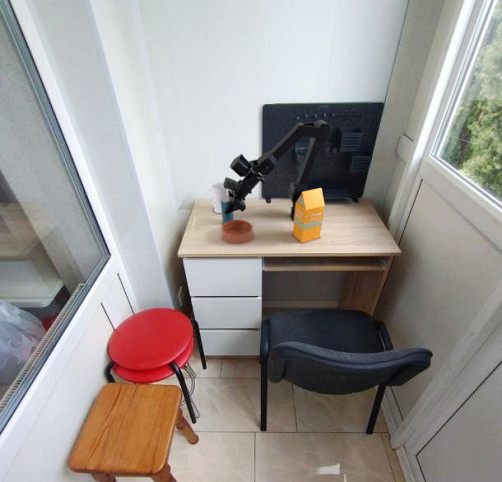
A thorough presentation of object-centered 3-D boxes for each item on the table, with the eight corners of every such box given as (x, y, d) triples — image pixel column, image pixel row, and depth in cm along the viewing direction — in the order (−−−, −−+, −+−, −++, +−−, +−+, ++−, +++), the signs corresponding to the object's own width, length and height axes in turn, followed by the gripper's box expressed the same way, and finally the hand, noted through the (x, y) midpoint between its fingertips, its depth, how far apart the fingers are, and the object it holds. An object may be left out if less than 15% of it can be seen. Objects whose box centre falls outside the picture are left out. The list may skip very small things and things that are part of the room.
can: (235, 221, 132) (234, 197, 124) (231, 226, 128) (229, 202, 120) (225, 219, 133) (223, 195, 125) (220, 224, 130) (218, 200, 122)
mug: (205, 213, 139) (202, 188, 130) (209, 205, 145) (206, 181, 136) (229, 213, 138) (227, 189, 129) (231, 205, 144) (230, 182, 135)
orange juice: (292, 234, 123) (296, 188, 109) (309, 229, 126) (316, 184, 112) (301, 242, 118) (307, 195, 104) (319, 237, 120) (327, 191, 106)
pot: (252, 228, 127) (252, 219, 124) (252, 244, 117) (252, 235, 114) (223, 229, 127) (222, 220, 124) (221, 245, 118) (220, 235, 114)
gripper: (231, 163, 122) (209, 190, 128) (236, 179, 108) (211, 209, 115) (250, 180, 128) (227, 205, 135) (256, 197, 115) (231, 225, 121)
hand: (224, 210), depth 126 cm, fingers closed on can, 5 cm apart
